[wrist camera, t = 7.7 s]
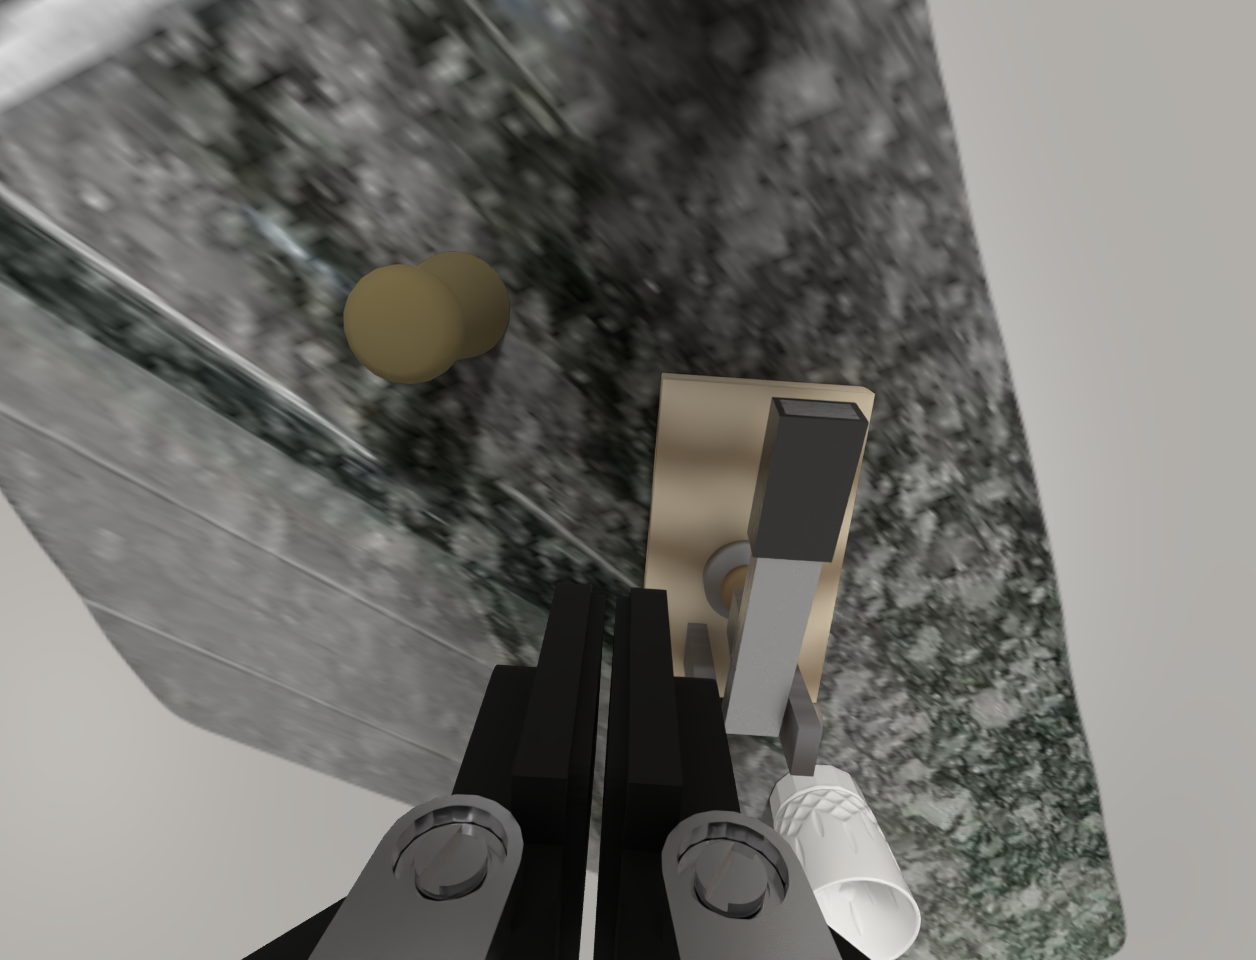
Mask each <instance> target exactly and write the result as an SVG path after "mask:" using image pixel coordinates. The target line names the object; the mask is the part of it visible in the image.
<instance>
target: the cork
mask: <svg viewBox="0 0 1256 960" xmlns="http://www.w3.org/2000/svg"><path fill="white" fill-rule="evenodd" d="M509 316H510V302H509V298H508V294H507V290H506V287H505V285H504V283H503V282H502V280H501V278H500V277H499V275H498V273H497V272H496V271H495V270H494V269H493V268H492V267H490V266H489V265H488V264H487V263H486V262H485V261H484V260H482V259H480V258H478V257H475V256H473V255H471V254H469V253H464V252H456V251H449V252H444V253H439V254H435V255H433V256H432V257H430V258H428V259H427V260H425V261H424V262H422V263H421V264H419V265H418V266H410V265H401V264H395V265H390V266H386V267H381V268H377V269H375V270H374V271H372V272H371V273H369V274H367V275H366V276H364V277H363V278H361V280H360V281H359V282H358V283H357V285H356V286H355V287H354V289H353V290H352V291H351V293H350V294H349V296H348V299H347V302H346V306H345V309H344V332H345V335H346V338H347V341H348V344H349V346H350V349H351V350H352V351H353V353H354V354H355V356H356V357H357V359H358V360H359V361H360V363H361V364H362V365H364V366H365V367H366V368H367V369H368V370H370V371H371V372H372V373H373V374H375V375H377V376H379V377H381V378H384V379H386V380H388V381H390V382H397V383H405V384H417V383H422V382H427V381H431V380H432V379H434V378H436V377H437V376H439V375H441V374H442V373H444V372H446V371H447V370H448V369H449V368H450V367H451V365H452V364H453V363H454V362H455V361H456V360H462V359H467V358H472V357H477V356H481V355H482V354H484V353H486V352H487V351H489V350H491V349H492V348H494V346H495V345H496V344H497V343H498V342H499V341H500V339H501V338H502V337H503V336H504V333H505V330H506V328H507V325H508V323H509Z"/></svg>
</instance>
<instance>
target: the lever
mask: <svg viewBox="0 0 1256 960" xmlns="http://www.w3.org/2000/svg"><path fill="white" fill-rule="evenodd" d="M868 425H869V422H868V420H867V419H866V417H865V416H864V414H863V413H862V411H861V410H860V408H859V407H858V405H857V404H856V403H855V402H841V401H826V400H812V399H797V398H783V397H772V399H771V404H770V410H769V415H768V420H767V426H766V431H765V437H764V442H763V448H762V453H761V459H760V464H759V470H758V475H757V481H756V486H755V492H754V497H753V503H752V508H751V513H750V519H749V524H748V530H747V534H748V539H749V543H750V548H751V554H750V560H749V565H748V570H747V575H746V581H745V586H744V589H738V588H734V591H733V596H732V602H731V607H730V613H729V618H728V624H727V629H726V631H727V638H728V645H729V652H730V658H731V660H730V665H729V670H728V676H727V681H726V686H725V691H724V697H723V702H722V712H723V717H724V723H725V729H726V733H728V734H744V735H759V736H775V737H778V736H779V732H780V728H781V724H782V720H783V716H784V712H785V709H786V705H787V701H788V697H789V693H790V689H791V685H792V681H793V677H794V674H795V670H796V666H797V662H798V658H799V654H800V650H801V646H802V643H803V639H804V635H805V631H806V627H807V623H808V619H809V615H810V611H811V608H812V604H813V600H814V596H815V592H816V588H817V584H818V580H819V576H820V573H821V569H822V565H823V562H830V563H832V560H833V556H834V553H835V549H836V545H837V541H838V538H839V534H840V530H841V526H842V523H843V519H844V515H845V511H846V507H847V504H848V500H849V496H850V492H851V489H852V485H853V481H854V477H855V474H856V470H857V466H858V462H859V458H860V455H861V451H862V447H863V443H864V440H865V436H866V432H867V428H868Z"/></svg>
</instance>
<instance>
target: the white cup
mask: <svg viewBox="0 0 1256 960" xmlns="http://www.w3.org/2000/svg"><path fill="white" fill-rule="evenodd" d="M770 806H771V814H772V820H773V825H774V830H775V831H776V832H777V833H778V834H779V835H780V836H781V837H782V838H783V839H784V840H785V841H787V842H788V843H789V845H790V846H791V848H792V849H793V851H794V853H795V854H796V856H797V858H798V859H799V861H800V863H801V865H802V867H803V870H804V872H805V874H806V877H807V879H808V881H809V884H810V886H811V888H812V891H813V893H814V895H815V898H816V900H817V902H818V905H819V907H820V909H821V911H822V914H823V916H824V918H825V921H826V923H827V925H829V926H830V927H831V928H832V929H834V930H835V931H836V932H837V933H839V934H840V935H841V936H842V937H844V938H845V939H846V940H847V941H849V942H850V943H851V944H852V945H853V946H855V947H856V948H857V949H858V950H860V951H861V952H862V953H863V954H865V955H866V956H867V957H868V958H870V959H871V960H895V959H896V958H898V957H899V956H901V955H902V954H903V953H904V952H905V951H906V950H907V949H908V948H909V947H910V946H911V945H912V943H913V942H914V941H915V939H916V937H917V935H918V932H919V929H920V923H921V917H920V911H919V908H918V906H917V904H916V902H915V900H914V898H913V895H912V893H911V891H910V889H909V887H908V885H907V883H906V881H905V879H904V877H903V874H902V872H901V870H900V868H899V866H898V864H897V862H896V859H895V857H894V855H893V853H892V851H891V849H890V847H889V845H888V843H887V841H886V839H885V837H884V835H883V833H882V831H881V829H880V827H879V825H878V823H877V821H876V819H875V817H874V815H873V813H872V811H871V810H870V808H869V807H868V805H867V803H866V801H865V799H864V796H863V794H862V792H861V790H860V788H859V786H858V785H857V784H856V782H855V781H854V780H853V779H852V777H851V776H850V775H849V774H848V773H846V772H844V771H842V770H840V769H838V768H836V767H833V766H831V765H816V766H815V771H814V776H813V777H811V776H795V775H790V772H789V773H788V774H787V775H786V776H784V777H783V778H782V779H781V780H779V781H778V782H777V783H776V785H775V788H774V790H773V792H772V794H771V796H770Z"/></svg>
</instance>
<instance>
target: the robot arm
mask: <svg viewBox="0 0 1256 960" xmlns="http://www.w3.org/2000/svg"><path fill="white" fill-rule="evenodd" d="M605 596H606V595H597V594H592V585H587V584H572V583H557V585H556V589H555V593H554V597H553V601H552V606H551V610H550V614H549V618H548V623H547V627H546V631H545V635H544V640H543V644H542V648H541V652H540V657H539V661H538V665H537V667H525V666H510V665H496V666H495V668H494V670H493V672H492V675H491V678H490V681H489V684H488V687H487V690H486V693H485V696H484V699H483V702H482V705H481V708H480V711H479V714H478V717H477V720H476V723H475V726H474V729H473V732H472V735H471V738H470V741H469V744H468V747H467V750H466V753H465V756H464V759H463V762H462V765H461V768H460V771H459V774H458V777H457V780H456V783H455V786H454V789H453V791H452V794H451V795H450V796H445V797H439V798H435V799H432V800H430V801H428V802H425V803H423V804H421V805H418V806H416V807H414V808H413V809H411V810H410V811H409V812H407V813H406V814H405V815H403V816H402V817H400V818H399V819H398V820H397V821H396V822H395V823H394V825H393V826H392V827H391V828H390V829H389V831H388V832H387V833H386V834H385V835H384V837H383V839H382V840H381V842H380V843H379V845H378V846H377V848H376V850H375V851H374V853H373V855H372V856H371V858H370V859H369V861H368V863H367V864H366V866H365V868H364V869H363V871H362V872H361V874H360V876H359V877H358V879H357V881H356V882H355V884H354V886H353V887H352V889H351V890H350V892H349V894H348V895H347V896H346V897H344V898H343V899H341V900H339V901H338V902H336V903H335V904H333V905H331V906H329V907H328V908H326V909H325V910H323V911H321V912H319V913H318V914H316V915H315V916H313V917H311V918H310V919H308V920H306V921H305V922H303V923H301V924H300V925H298V926H296V927H295V928H293V929H291V930H290V931H288V932H286V933H285V934H283V935H281V936H280V937H278V938H276V939H275V940H273V941H272V942H270V943H268V944H266V945H265V946H263V947H262V948H260V949H258V950H257V951H255V952H254V953H252V954H250V955H248V956H247V957H245V958H243V959H242V960H579V951H580V939H581V926H582V913H583V902H584V890H585V877H586V865H587V853H588V841H589V828H590V816H591V804H592V791H593V779H594V767H595V754H596V739H597V724H598V708H599V692H600V676H601V661H602V645H603V629H604V613H605ZM594 941H595V942H594V957H593V960H871V959H870V958H868V957H867V956H866V955H865V954H863V953H862V952H861V951H860V950H858V949H857V948H856V947H855V946H853V945H852V944H851V943H850V942H849V941H847V940H846V939H845V938H844V937H842V936H841V935H840V934H839V933H837V932H836V931H835V930H834V929H832V928H831V927H830V926H829V925H827V923H826V921H825V918H824V916H823V914H822V911H821V909H820V907H819V905H818V902H817V900H816V898H815V895H814V893H813V891H812V888H811V886H810V884H809V881H808V879H807V877H806V874H805V872H804V870H803V867H802V865H801V863H800V861H799V859H798V858H797V856H796V854H795V853H794V851H793V849H792V848H791V846H790V845H789V843H788V842H787V841H785V840H784V839H783V838H782V837H781V836H780V835H779V834H778V833H777V832H776V831H775V830H774V829H773V828H771V827H769V826H767V825H766V824H764V823H762V822H761V821H759V820H757V819H756V818H753V817H750V816H747V815H743V814H741V813H740V807H739V801H738V796H737V790H736V785H735V779H734V774H733V768H732V763H731V757H730V752H729V746H728V741H727V735H726V729H725V724H724V718H723V713H722V707H721V702H720V696H719V691H718V686H717V682H716V680H715V679H710V678H695V677H680V676H674V671H673V660H672V648H671V636H670V624H669V612H668V600H667V590H663V589H648V588H633V587H631V594H630V597H627V596H617V601H616V615H615V630H614V644H613V658H612V673H611V687H610V702H609V716H608V730H607V745H606V760H605V776H604V793H603V809H602V825H601V842H600V858H599V874H598V891H597V907H596V925H595V940H594Z"/></svg>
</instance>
